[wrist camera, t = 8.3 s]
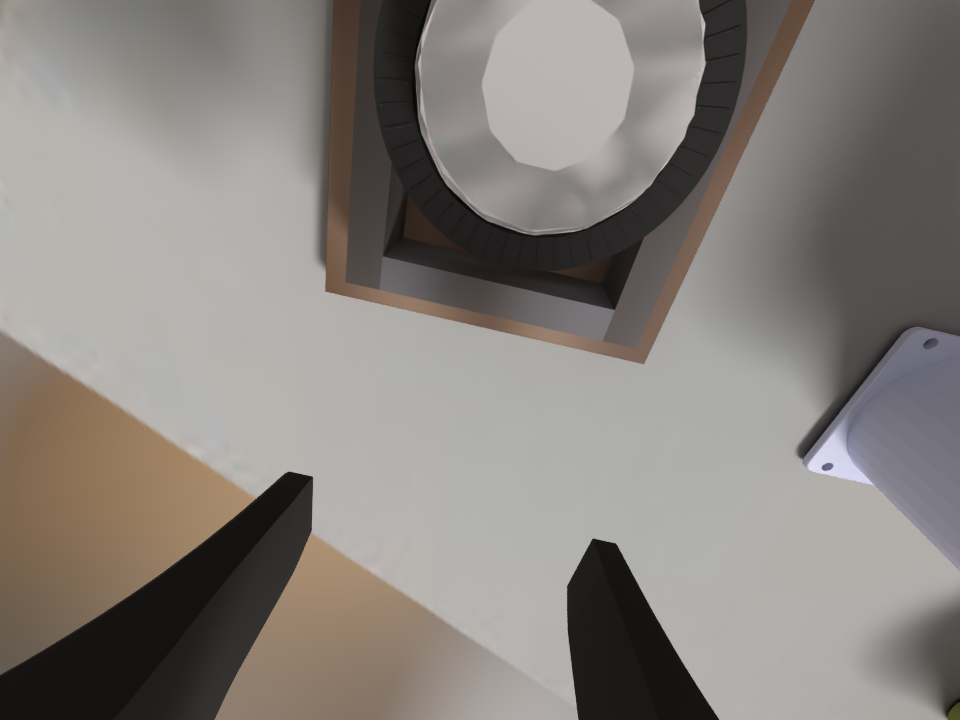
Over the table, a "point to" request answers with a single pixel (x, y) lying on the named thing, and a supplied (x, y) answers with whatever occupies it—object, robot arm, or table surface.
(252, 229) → the table surface
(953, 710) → the plant pot
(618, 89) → the push button
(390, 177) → the socket board
